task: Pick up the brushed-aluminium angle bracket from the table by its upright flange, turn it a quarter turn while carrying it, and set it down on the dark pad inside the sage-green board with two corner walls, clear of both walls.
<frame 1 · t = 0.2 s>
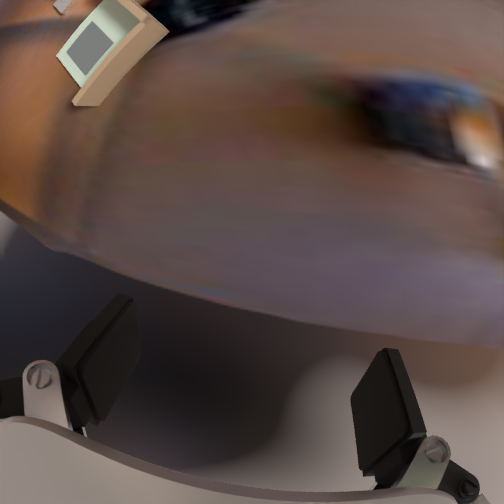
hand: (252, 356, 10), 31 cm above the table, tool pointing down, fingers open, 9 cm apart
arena: (106, 42, 31), on the table
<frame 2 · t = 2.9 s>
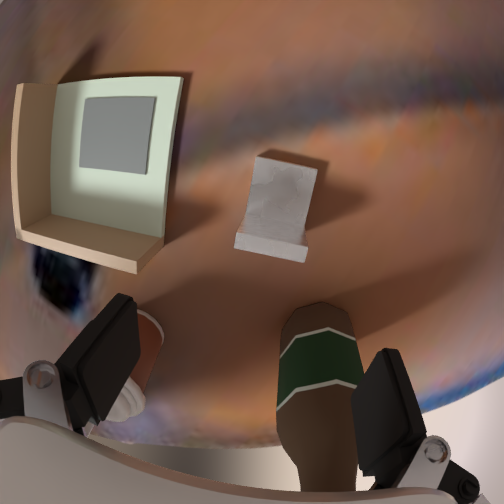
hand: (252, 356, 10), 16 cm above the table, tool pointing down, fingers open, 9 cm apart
coffee cup: (141, 328, 32), on the table
beer bottle: (317, 328, 29), on the table
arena: (99, 157, 24), on the table
bracket: (279, 195, 24), on the table
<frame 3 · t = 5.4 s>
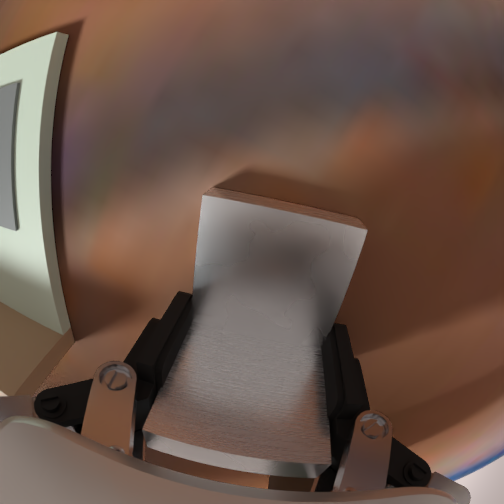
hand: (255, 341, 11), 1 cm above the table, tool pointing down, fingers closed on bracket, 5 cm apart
beer bottle: (326, 451, 16), on the table
bracket: (269, 280, 10), on the table, touching gripper
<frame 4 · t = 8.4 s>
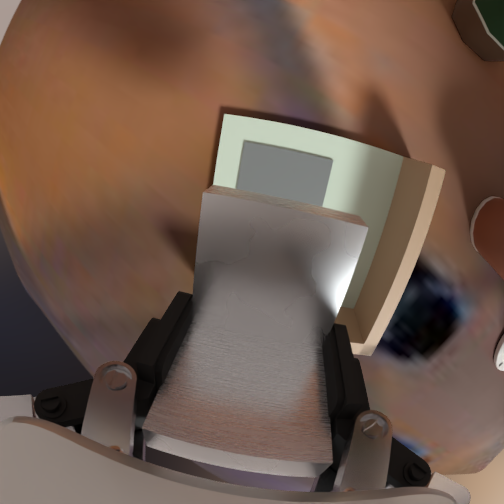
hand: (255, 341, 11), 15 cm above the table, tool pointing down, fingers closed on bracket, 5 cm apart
coffee cup: (489, 225, 22), on the table
beer bottle: (478, 31, 13), on the table
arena: (303, 224, 24), on the table
bracket: (269, 278, 10), point 14 cm above the table, touching gripper
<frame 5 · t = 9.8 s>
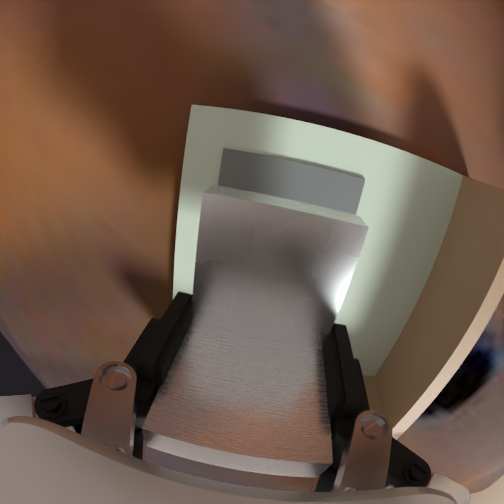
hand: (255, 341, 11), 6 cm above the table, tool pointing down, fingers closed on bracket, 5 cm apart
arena: (314, 273, 16), on the table
bracket: (269, 278, 10), point 5 cm above the table, touching gripper
when the fingers open (3 cm above the table, at t = 11.2 s): bracket drops 1 cm, resting on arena.
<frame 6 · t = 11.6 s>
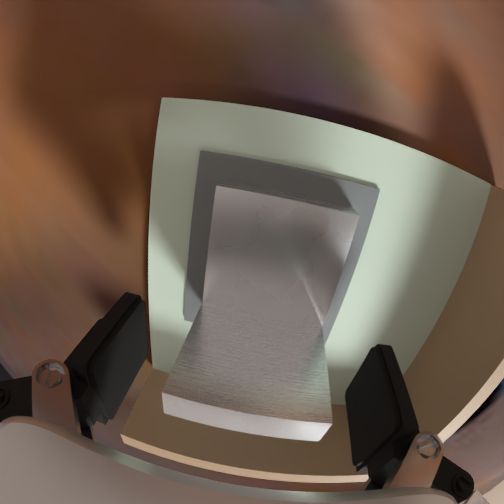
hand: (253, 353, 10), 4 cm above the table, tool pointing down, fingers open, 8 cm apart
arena: (314, 301, 13), on the table
bracket: (273, 263, 12), point 1 cm above the table, touching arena
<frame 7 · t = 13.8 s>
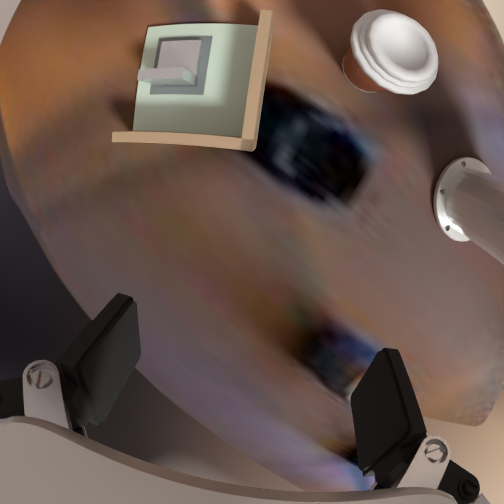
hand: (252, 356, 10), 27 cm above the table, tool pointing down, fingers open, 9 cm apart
coffee cup: (365, 69, 27), on the table
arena: (199, 80, 30), on the table
bracket: (180, 64, 28), point 1 cm above the table, touching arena
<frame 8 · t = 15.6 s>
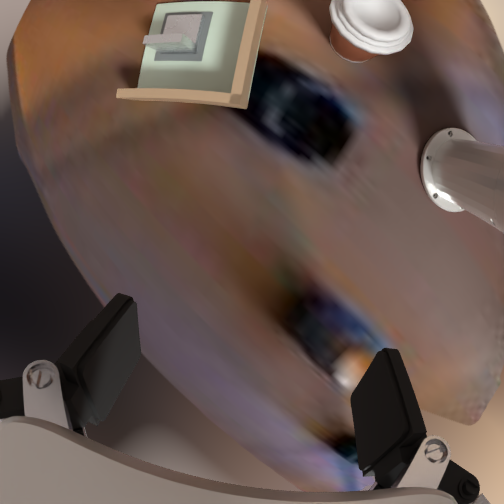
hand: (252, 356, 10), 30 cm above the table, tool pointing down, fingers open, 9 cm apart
coffee cup: (352, 42, 28), on the table
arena: (199, 49, 31), on the table
bracket: (183, 35, 29), point 1 cm above the table, touching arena
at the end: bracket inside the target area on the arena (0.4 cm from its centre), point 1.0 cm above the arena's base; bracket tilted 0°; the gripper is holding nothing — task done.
